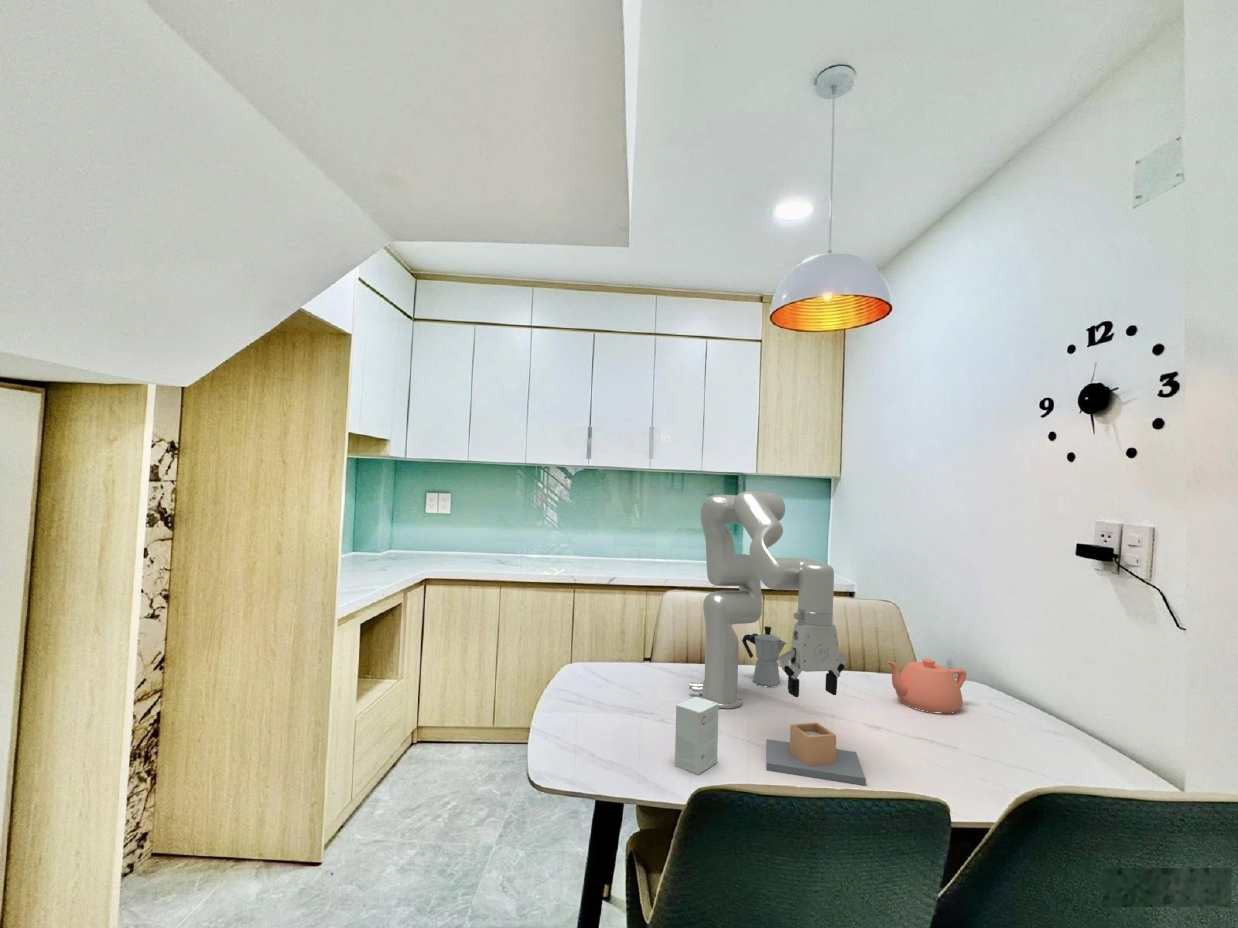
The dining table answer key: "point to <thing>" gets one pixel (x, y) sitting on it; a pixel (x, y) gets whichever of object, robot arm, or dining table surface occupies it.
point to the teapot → (929, 686)
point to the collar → (813, 744)
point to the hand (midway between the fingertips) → (812, 694)
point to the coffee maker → (765, 657)
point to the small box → (696, 734)
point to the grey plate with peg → (840, 771)
